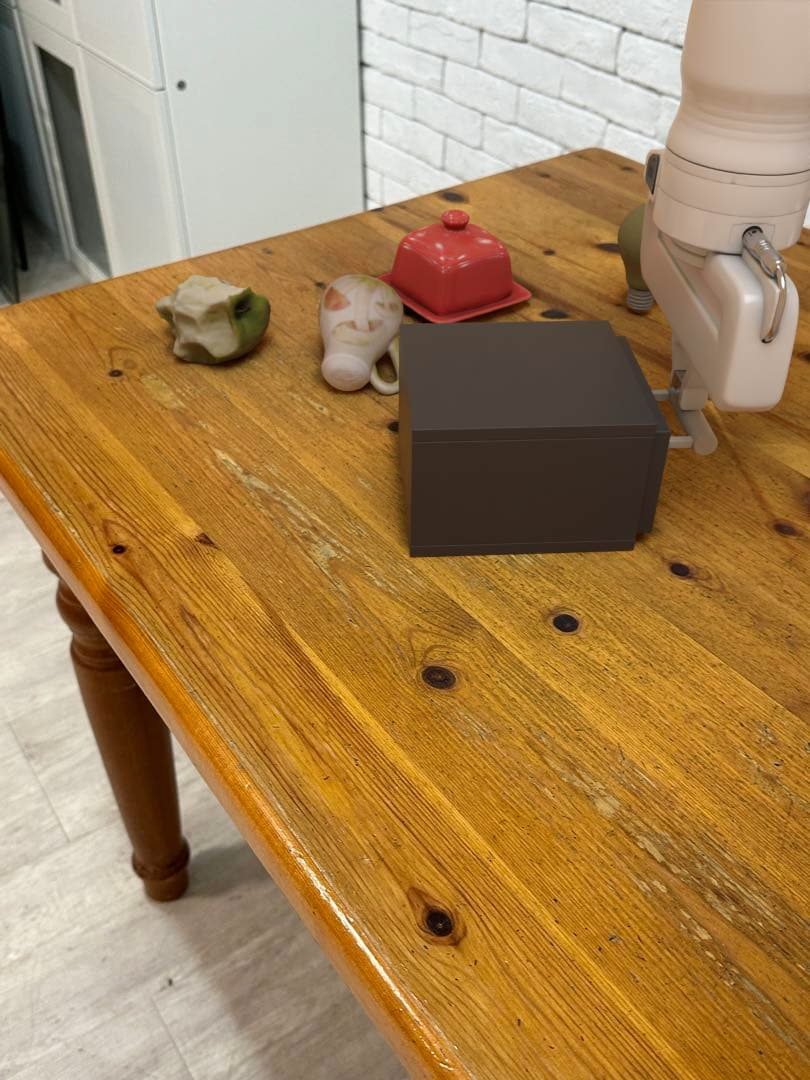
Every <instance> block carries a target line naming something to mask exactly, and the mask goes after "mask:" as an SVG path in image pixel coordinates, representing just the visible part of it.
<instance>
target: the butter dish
mask: <svg viewBox="0 0 810 1080" xmlns="http://www.w3.org/2000/svg"><path fill="white" fill-rule="evenodd" d="M440 220H441V222H436V223H432V224H429V225H425V226H422V227H419V228H417V229H415V230H412V231H411V232H409V233H407V234H406V235H405V236H403V237H402V238H401V240H400V241H399V243H398V245H397V250H396V253H395V257H394V260H393V264H392V269H391V271H390V272H388V273H385V274H382V275H379V276H376V277H375V278H377V279H379V280H381V281H383V282H384V283H386V284H387V285H389V286H390V287H391V288H392V289H393V290H394V291H395V292H396V293H397V294H398V296H399V297H400V299H401V301H402V304H403V305H405V306H406V307H408V308H409V309H411V310H412V311H413V312H415V313H416V314H418V315H419V316H421V317H422V318H423V319H426V320H427V321H429V322H431V323H460V322H463V321H465V320H469V319H471V318H475V317H478V316H483V315H486V314H489V313H492V312H495V311H498V310H501V309H505V308H508V307H511V306H514V305H518V304H520V303H523V302H526V301H528V300H529V299H531V298H532V297H533V294H532V293H531V292H530V291H529V290H528V289H526V288H525V287H524V286H522V285H520V284H519V283H517V281H514V280H513V271H512V261H511V256H510V253H509V250H508V248H507V246H505V244H504V243H502V241H501V240H500V239H499V238H497V237H496V236H495V235H494V234H492V233H491V232H489V231H488V230H486V229H484V228H483V227H480V226H478V225H476V224H473V223H471V222H470V215H469V214H468V213H467V212H465V211H463V210H461V209H449V210H446V211H444V212H443V213H441V216H440Z"/></svg>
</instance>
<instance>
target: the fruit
mask: <svg viewBox="0 0 810 1080" xmlns="http://www.w3.org/2000/svg"><path fill="white" fill-rule="evenodd" d="M154 307H155V310H156V311H157V313H158V315H159V317H160V319H163V320H165V321H166V322H167V323H168V324H169V327H170V331H171V333H172V335H173V336H174V337H175V341H174V345H173V349H172V355H174V356H176V357H177V358H179V359H181V360H184V361H186V362H190V363H192V364H193V363H194V364H199V365H200V364H201V365H218V364H222V363H225V362H228V361H231V360H235V359H237V358H240V357H242V356H244V355H245V354H247V353H249V352H251V351H252V350H254V349H255V347H256V346H257V345H258V344H259V343H261V341H262V340H263V338H264V336H265V333H266V332H267V330H268V327H269V325H270V319H271V313H272V306H271V303H270V301H269V299H268V297H266V296H265V294H262V293H256V292H255V291H252V287H251V286H249V285H246V287H238V286H235V285H232V284H231V283H230V282H229V281H227V280H224V279H219V278H218V277H217V276H211V277H207V276H203V275H201V274H194V275H193V274H192V275H189V276H188V277H187V278H186V280H185V281H184V282H183V283H179V284H178V285H177V286H176V288H175V289H174V290H173V293H172V294H171V295H166V296H163V297H161V298H160V299H159V300H158V301H155V306H154Z"/></svg>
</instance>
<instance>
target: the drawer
mask: <svg viewBox="0 0 810 1080" xmlns="http://www.w3.org/2000/svg"><path fill="white" fill-rule="evenodd" d="M616 337H617V339H618V342H619V344H620V346H621V348H622V350H623V352H624V354H625V357H626V359H627V361H628V363H629V365H630V367H631V369H632V372H633V374H634V376H635V378H636V380H637V382H638V384H639V386H640V389H641V391H642V393H643V395H644V397H645V399H646V401H647V404H648V406H649V408H650V410H651V412H652V414H653V416H654V419H655V421H656V423H657V428H656V433H655V438H654V443H653V449H652V454H651V459H650V465H649V470H648V475H647V481H646V486H645V491H644V497H643V502H642V507H641V513H640V518H639V523H638V529H637V534H651V533H652V532H653V527H654V521H655V517H656V512H657V507H658V502H659V497H660V491H661V486H662V481H663V477H664V472H665V467H666V462H667V456H668V450H669V449H693V451H694V453H695V454H697V455H699V456H708V455H711V454H712V453H714V452H715V451H716V449H717V448H718V443H719V441H718V439H717V436H716V435H715V433H714V431H713V429H712V427H711V426H710V424H709V422H708V420H707V418H706V416H705V415H704V412H703V411H702V409H701V410H683V409H681V408H680V406H679V404H678V402H677V400H676V398H675V395H674V394H673V392H672V390H671V388H670V387H669V386H668V388H667V389H651V387H650V384H649V382H648V381H647V377H646V375H645V374H644V371H643V369H642V368H641V366H640V364H639V361H638V359H637V357H636V355H635V353H634V351H633V349H632V347H631V344H630V343H629V341H628V339H627V337H626V335H616ZM664 401H665V402H669V404H670V405H671V408H672V410H673V412H674V414H675V416H676V417H677V420H678V421H679V423H680V426H681V428H682V429H683V431H684V434H685V435H677V436H676V435H675V436H674V435H673V436H672V430H671V427H670V425H669V424H668V421H667V418H666V417H665V415H664V413H663V410H662V409H661V407H660V404H659V403H658V402H664Z"/></svg>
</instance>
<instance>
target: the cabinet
mask: <svg viewBox="0 0 810 1080" xmlns="http://www.w3.org/2000/svg"><path fill="white" fill-rule="evenodd" d="M616 336H617V335H616V333H615V331H614V329H613V326H612V325H611V322H610V320H609V319H598V320H597V319H596V320H595V319H593V320H592V319H591V320H590V319H589V320H588V319H587V320H541V321H540V320H539V321H536V320H535V321H493V322H492V321H488V322H487V321H485V322H484V321H482V322H481V321H480V322H456V323H433V322H431V323H430V322H429V323H427V322H425V323H424V322H423V323H403V324H399V391H398V412H397V413H398V420H397V425H398V427H397V428H398V429H397V435H398V436H397V443H398V444H397V445H398V453H399V462H400V472H401V482H402V491H403V492H402V494H403V502H404V511H405V521H406V532H407V541H408V552H409V557H410V558H426V557H427V558H429V557H460V556H461V557H462V556H463V557H464V556H493V555H494V556H495V555H526V554H557V553H559V554H561V553H590V552H623V551H628V552H629V551H634V550H635V545H636V539H637V534H638V533H637V529H638V523H639V518H640V513H641V507H642V502H643V497H644V491H645V486H646V481H647V475H648V470H649V465H650V459H651V454H652V449H653V443H654V438H655V433H656V428H657V423H656V421H655V419H654V416H653V414H652V412H651V410H650V408H649V406H648V404H647V401H646V399H645V397H644V395H643V393H642V391H641V389H640V386H639V384H638V382H637V380H636V378H635V376H634V374H633V372H632V369H631V367H630V365H629V363H628V361H627V359H626V357H625V354H624V352H623V350H622V348H621V346H620V344H619V342H618V339H617V337H616Z"/></svg>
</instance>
